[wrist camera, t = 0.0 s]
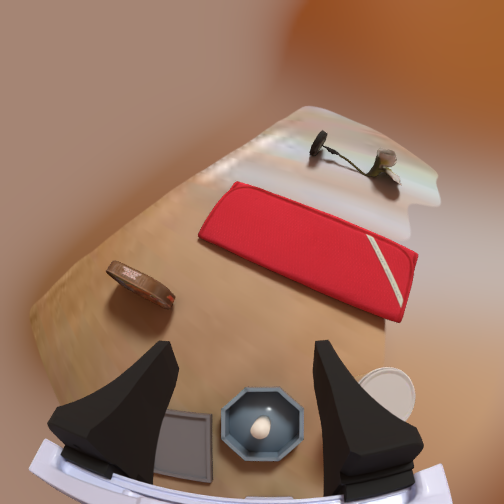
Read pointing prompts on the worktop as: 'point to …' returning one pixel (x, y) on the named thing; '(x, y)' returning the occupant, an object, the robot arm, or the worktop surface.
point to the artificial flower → (381, 163)
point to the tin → (141, 284)
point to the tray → (185, 446)
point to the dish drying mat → (313, 249)
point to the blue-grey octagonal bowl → (245, 414)
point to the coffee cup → (390, 390)
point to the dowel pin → (261, 427)
